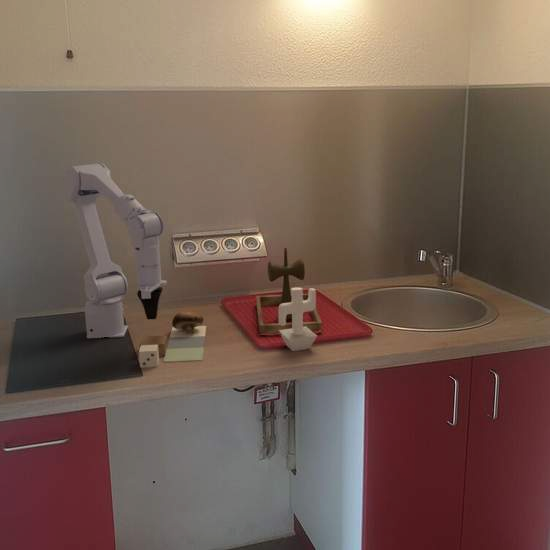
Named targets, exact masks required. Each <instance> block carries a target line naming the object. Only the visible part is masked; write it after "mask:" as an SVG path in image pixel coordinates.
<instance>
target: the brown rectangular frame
mask: <svg viewBox="0 0 550 550" xmlns="http://www.w3.org/2000/svg"><path fill="white" fill-rule="evenodd" d="M255 297H256V298H255V300H256V303H255V304H256V315H257V314H258V315H257V323H259V324H258V332H260V334H277V333H280V332H279V330H284V329H291V328H292V322H286V325H285V326H281V325H279V322H278V323H264V320H263V312H262V307H266V306H267V307H269V306H271V307H273V306H279V305H280V304H279V303H278V301H279V300H280V299H281V297H282V294H275V295H274V294H273V295H256V296H255ZM305 300H308V293H303V301H305ZM309 312H310V314H312V315H311V318H312V317H313V318H312V320H313V319H314V320H313V321H309V322H308V321H305V322H304V321H303V327H305V326H306V327H307V328H308V329H310V330H311V331H319V330H322V331H323V323H322V319H321V317H320V314H319V312H318V310H317V307H315V309H314V310H313V311H309ZM260 334H259V335H260Z"/></svg>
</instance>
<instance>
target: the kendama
mask: <svg viewBox="0 0 550 550" xmlns="http://www.w3.org/2000/svg"><path fill="white" fill-rule="evenodd" d="M305 273H306V269H305V263H304V260H303V259H302V258H298V259H297V260H295V261H294V262H293V263H291V264H288V250H287V247H284V250H283V265H281V264H278V263H275V262H273V261H271V260H270V261H268V263H267V275H268V276H267V277H268V280H269V281H270V282H272V283H273V282H274V281H276V280H277V279H279V278H282V277H283V282H282V283H283V284H282V290H281V291H282V292H281V295H282V297H281V299H280V300H279V301H278V303H279V304H282V303H290V302H291V301H292V296H291V287H290V277H289V276H291V277H295V278H296V279H298V280H300V281H304V279H305ZM277 318H278V319H279V316H278V315H277ZM290 320H291V321H292V314H287V315H286V321H290Z"/></svg>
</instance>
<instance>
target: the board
mask: <svg viewBox="0 0 550 550" xmlns="http://www.w3.org/2000/svg"><path fill="white" fill-rule="evenodd" d="M206 331H207V325H199V326H197V327H195V328H194V332H195V333H186V332H184V331H183V330H182V329H175V328H174V327H173V326H172V328H171V332H170V335H169V339H168V342H167V344H168V346H167V350H166V354H165V356H164V359H163V363H177V362H180V363H181V362H197V361H198V362H199V361H200V362H202V361H203V358H204V349H205V341H206Z"/></svg>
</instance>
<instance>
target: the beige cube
mask: <svg viewBox="0 0 550 550" xmlns="http://www.w3.org/2000/svg"><path fill="white" fill-rule="evenodd" d="M138 358H139V359H138V360H139V368H140V367H141V368H155V367H156V368H157V367H159V362H160V356H159V351H158V345H141V346H140V349H139V350H138Z"/></svg>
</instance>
